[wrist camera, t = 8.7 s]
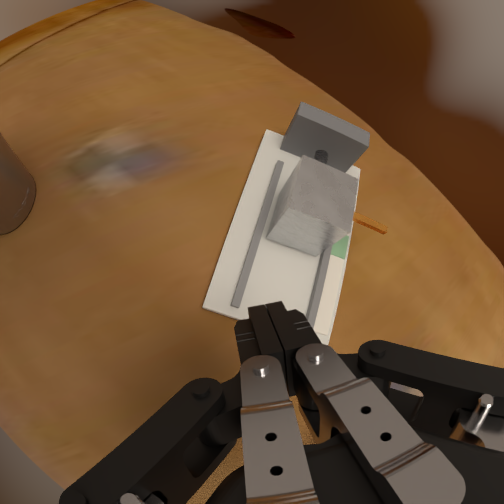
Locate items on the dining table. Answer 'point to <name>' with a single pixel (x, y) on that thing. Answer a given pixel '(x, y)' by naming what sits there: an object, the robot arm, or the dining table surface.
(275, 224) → the gauge carriage
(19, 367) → the dining table surface
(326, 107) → the dining table surface
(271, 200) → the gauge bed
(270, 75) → the dining table surface
